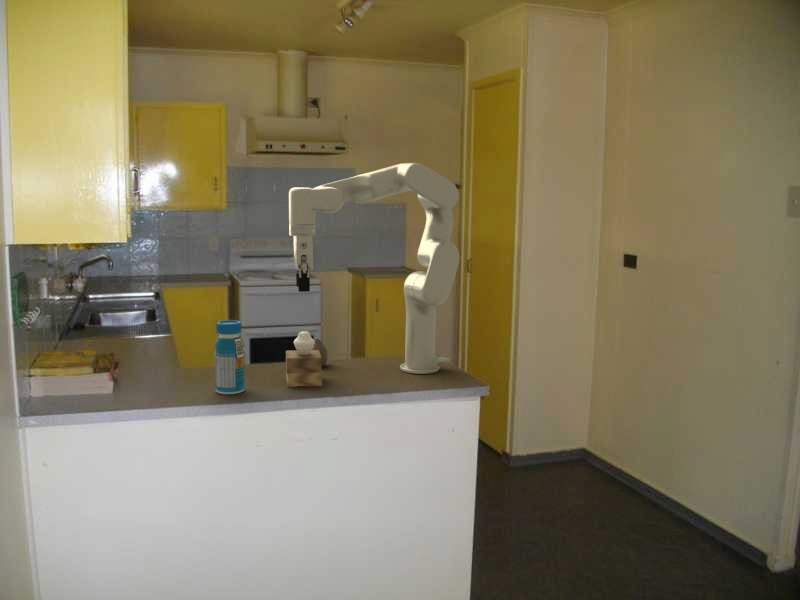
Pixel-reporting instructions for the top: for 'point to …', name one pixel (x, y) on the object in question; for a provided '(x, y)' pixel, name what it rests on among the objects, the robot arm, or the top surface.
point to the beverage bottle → (229, 358)
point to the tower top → (303, 362)
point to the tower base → (303, 379)
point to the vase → (321, 351)
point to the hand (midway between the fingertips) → (302, 288)
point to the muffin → (304, 343)
